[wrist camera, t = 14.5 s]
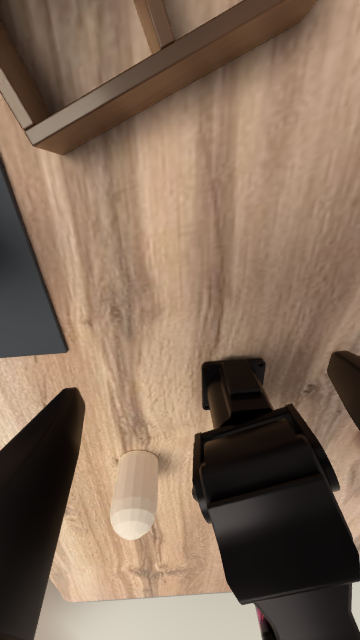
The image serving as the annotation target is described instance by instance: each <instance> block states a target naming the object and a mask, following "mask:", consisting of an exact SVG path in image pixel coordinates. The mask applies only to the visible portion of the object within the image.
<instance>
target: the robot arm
mask: <svg viewBox="0 0 360 640" xmlns="http://www.w3.org/2000/svg"><path fill="white" fill-rule="evenodd" d="M259 363H261V364H259ZM265 365H266V363H265V361H264V360H263V359H261V358H259V359H247V360H235V361H223V362H211V363H204V364H203V365H202V406H203V409H204V410H210V412H211V417H212V422H213V427H214V429H213V430H210V431H207V432H204V433H201V432H200V433H197V434H195V443H194V449H193V478H192V482H193V488H192V495H193V498H194V499H195V500H196V501H197V502H198V503H199V506H200V509H201V512H202V514H203V516H204V518H205V520H206V522H207V523H209V524H210V523H212V526H213V529H214V532H215V536H216V539H217V543H218V546H219V550H220V554H221V559H222V563H223V568H224V572H225V577H226V581H227V583H228V585H229V587H230V588H231V590H232V592H233V593H234V595H235V596H236V598H237V599H238V601H239V603H240V604H242V605H245V604H250V603H254V604H255V606H256V607H257V608H258V609H259V610H260V612H261V613H262V614H263V615H264V617H265V618H266V619H267V620H268V622H269V623H270V624H271V626H272V627H273V630H274V633H275V636H276V639H277V640H360V632H359V629H358V627H357V625H356V622H355V620H354V617H353V615H352V612H351V600H352V583H353V582H359V581H360V561H359V553H358V551H357V549H356V546H355V544H354V542H353V537H352V534H351V532H350V530H349V527H348V525H347V523H346V521H345V519H344V516H343V514H342V512H341V510H340V508H339V505H338V503H337V501H336V499H335V497H334V494H333V492H335V491H338V490H340V486H339V482H338V479H337V477H336V474H335V472H334V470H333V467H332V465H331V463H330V461H329V459H328V457H327V455H326V453H325V451H324V450H323V448H322V446H321V444H320V443H319V441H318V439H317V438H316V436H315V435H314V434H313V432H312V431H311V429H310V428H309V427H308V425H307V424H306V422H305V421H304V420H303V418H302V417H301V416H300V414H299V413H298V411H297V410H296V409H295V407H294V406H293V404H292V403H291V404H288V405H285V406H286V407H283V408H280V409H276V410H274V409H273V407H272V405H271V403H270V401H269V399H268V397H267V395H266V393H265V391H264V389H263V387H262V386H263V379H264V372H265ZM206 367H208V368H207V369H205V368H206ZM327 373H328V376H329V378H330V380H331V381H332V383H333V385H334V387H335V389H336V391H337V393H338V395H339V397H340V398H341V400H342V402H343V404H344V406H345V408H346V410H347V411H348V413H349V415H350V417H351V418H352V420H353V421H354V423H355V424H356V426H357V427H358V429H359V430H360V356H357V355H355V354H353V353H351V352H348V351H336V352H333V353H332V355H331V358H330V361H329V365H328V368H327ZM207 405H208V406H207ZM84 414H85V403H84V400H83V398H82V396H81V394H80V392H79V390H78V389H77V388H76V387H72V388H65V389H63V390H62V391H61V392H60V393H59V394H58V395H57V396H56V397H55V398H54V399H53V400H52V401H51V402H50V403H49V404H48V405H47V406H46V407H45V408H44V409H43V410H42V411H41V412H39V413H38V414H37V415H36V416H35V417H34V418H33V419H32V420H31V421H30V422H29V423H28V424H27V425H26V426H25V427H24V428H23V429H22V430H21V431H20V432H19V433H18V434H17V435H16V436H15V437H14V438H13V439H12V440H11V441H10V442H9V443H8V444H7V445H6V446H5V447H4V448H3V449H2V450H1V451H0V640H34V636H35V632H36V628H37V624H38V620H39V616H40V611H41V607H42V603H43V599H44V595H45V591H46V587H47V583H48V579H49V575H50V571H51V566H52V562H53V558H54V554H55V550H56V546H57V542H58V538H59V534H60V530H61V525H62V521H63V517H64V513H65V509H66V505H67V501H68V497H69V493H70V489H71V484H72V480H73V476H74V472H75V468H76V464H77V460H78V455H79V450H80V444H81V436H82V429H83V421H84Z"/></svg>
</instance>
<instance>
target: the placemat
mask: <svg viewBox="0 0 360 640" xmlns="http://www.w3.org/2000/svg"><path fill="white" fill-rule="evenodd" d="M67 351H68V349H67V346H66V343H65V341H64V338H63V335H62V332H61V329H60V326H59V324H58V321H57V318H56V315H55V312H54V310H53V307H52V304H51V301H50V298H49V295H48V293H47V290H46V287H45V284H44V281H43V278H42V276H41V273H40V270H39V267H38V264H37V261H36V259H35V256H34V253H33V250H32V247H31V245H30V242H29V239H28V236H27V233H26V230H25V228H24V225H23V222H22V219H21V216H20V213H19V211H18V208H17V205H16V202H15V199H14V196H13V194H12V191H11V188H10V185H9V182H8V179H7V177H6V174H5V171H4V168H3V165H2V163H1V160H0V358H6V357H18V356H31V355H43V354H56V353H67Z"/></svg>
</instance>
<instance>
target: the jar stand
mask: <svg viewBox="0 0 360 640" xmlns="http://www.w3.org/2000/svg"><path fill="white" fill-rule="evenodd" d="M317 1H318V0H243V1H242V2H240V3H238V4H237V5H235V6H233V7H232V8H230V9H228V10H227V11H225V12H223V13H222V14H220V15H218V16H217V17H215V18H213V19H212V20H210V21H208V22H206V23H205V24H203V25H201V26H200V27H198V28H196V29H195V30H193V31H191V32H190V33H188V34H186V35H185V36H183V37H181V38H180V39H178V40H176V41H175V42H174V36H173V33H172V29H171V26H170V23H169V20H168V16H167V13H166V10H165V6H164V3H163V0H134V3H135V6H136V9H137V12H138V15H139V18H140V21H141V24H142V26H143V29H144V32H145V35H146V38H147V41H148V44H149V47H150V50H151V53H152V55H151V56H149V57H148V58H146V59H144V60H143V61H141V62H139V63H138V64H136V65H134V66H133V67H131V68H129V69H128V70H126V71H124V72H123V73H121V74H119V75H118V76H116V77H114V78H113V79H111V80H109V81H107V82H106V83H104V84H102V85H101V86H99V87H97V88H96V89H94V90H92V91H91V92H89V93H87V94H86V95H84V96H82V97H81V98H79V99H77V100H76V101H74V102H72V103H71V104H69V105H67V106H66V107H64V108H62V109H61V110H59V111H57V112H55V113H54V114H52V115H51V113H50V111H49V109H48V107H47V106H46V104H45V102H44V100H43V98H42V96H41V95H40V93H39V91H38V89H37V87H36V85H35V84H34V82H33V80H32V78H31V76H30V74H29V72H28V71H27V69H26V67H25V65H24V63H23V61H22V60H21V58H20V56H19V54H18V52H17V50H16V49H15V47H14V45H13V43H12V41H11V39H10V37H9V36H8V34H7V32H6V30H5V28H4V26H3V25H2V23H1V21H0V93H1V94H2V96H3V98H4V99H5V101H6V102H7V104H8V106H9V107H10V109H11V111H12V112H13V114H14V116H15V117H16V119H17V121H18V122H19V124H20V126H21V127H22V129H23V130H24V131H25V134H26V136H27V137H28V139H29V141H30V142H31V144H32V145H33V146H34V147H37V148H40V149H44V150H47V151H50V152H53V153H57V154H60V155H64V154H66V153H67V152H69V151H71V150H73V149H75V148H76V147H78V146H80V145H82V144H83V143H85V142H87V141H89V140H91V139H92V138H94V137H96V136H98V135H99V134H101V133H103V132H105V131H107V130H108V129H110V128H112V127H114V126H116V125H117V124H119V123H121V122H123V121H124V120H126V119H128V118H130V117H132V116H133V115H135V114H137V113H139V112H140V111H142V110H144V109H146V108H148V107H149V106H151V105H153V104H155V103H156V102H158V101H160V100H162V99H164V98H165V97H167V96H169V95H171V94H173V93H174V92H176V91H178V90H180V89H181V88H183V87H185V86H187V85H189V84H190V83H192V82H194V81H196V80H197V79H199V78H201V77H203V76H205V75H206V74H208V73H210V72H212V71H213V70H215V69H217V68H219V67H221V66H222V65H224V64H226V63H228V62H229V61H231V60H233V59H235V58H237V57H238V56H240V55H242V54H244V53H246V52H247V51H249V50H251V49H253V48H254V47H256V46H258V45H260V44H262V43H263V42H265V41H267V40H269V39H270V38H272V37H274V36H276V35H278V34H279V33H281V32H283V31H285V30H286V29H288V28H290V27H292V26H294V25H295V24H297V23H299V22H301V20H302V19H303V18H304V17H305V15H306V14H307V13H308V12H309V11H310V9H311V8H312V7H313V6H314V4H315V3H316V2H317Z"/></svg>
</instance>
